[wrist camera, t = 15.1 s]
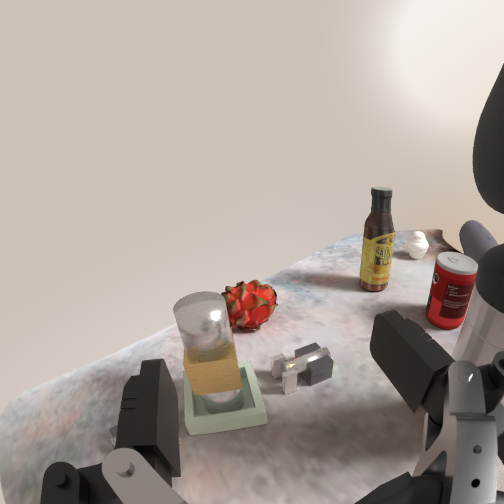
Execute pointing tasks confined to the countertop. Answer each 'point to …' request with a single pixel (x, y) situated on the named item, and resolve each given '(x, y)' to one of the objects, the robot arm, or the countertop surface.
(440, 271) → the canned food
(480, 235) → the bluetooth speaker
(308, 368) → the shaft
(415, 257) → the muffin
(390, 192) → the sauce bottle
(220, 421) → the mint green tray
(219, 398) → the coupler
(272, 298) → the dragon fruit
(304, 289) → the countertop surface
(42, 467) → the countertop surface
